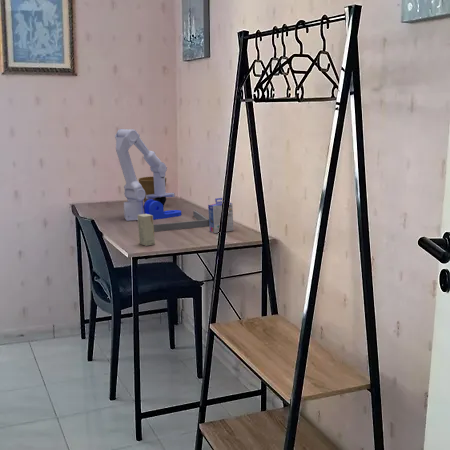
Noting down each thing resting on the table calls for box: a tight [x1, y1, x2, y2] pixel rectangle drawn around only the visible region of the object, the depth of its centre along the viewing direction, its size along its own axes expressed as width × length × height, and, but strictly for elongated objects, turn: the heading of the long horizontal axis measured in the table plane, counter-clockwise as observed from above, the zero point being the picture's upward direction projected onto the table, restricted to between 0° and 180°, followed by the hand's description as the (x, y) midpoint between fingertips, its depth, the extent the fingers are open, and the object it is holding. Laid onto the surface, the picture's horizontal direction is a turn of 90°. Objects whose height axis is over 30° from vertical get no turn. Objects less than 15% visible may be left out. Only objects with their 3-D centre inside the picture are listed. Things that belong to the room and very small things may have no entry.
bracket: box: [143, 199, 182, 221], centre depth 313 cm, size 18×8×9 cm, turn 120°
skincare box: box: [137, 214, 156, 247], centre depth 256 cm, size 6×4×12 cm
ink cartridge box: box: [207, 197, 234, 234], centre depth 275 cm, size 10×6×14 cm, turn 118°
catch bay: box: [154, 209, 209, 233], centre depth 295 cm, size 28×25×3 cm
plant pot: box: [137, 176, 167, 203], centre depth 337 cm, size 15×15×16 cm
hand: (161, 211), depth 321 cm, fingers closed
